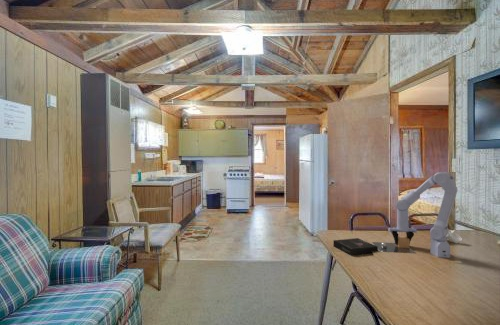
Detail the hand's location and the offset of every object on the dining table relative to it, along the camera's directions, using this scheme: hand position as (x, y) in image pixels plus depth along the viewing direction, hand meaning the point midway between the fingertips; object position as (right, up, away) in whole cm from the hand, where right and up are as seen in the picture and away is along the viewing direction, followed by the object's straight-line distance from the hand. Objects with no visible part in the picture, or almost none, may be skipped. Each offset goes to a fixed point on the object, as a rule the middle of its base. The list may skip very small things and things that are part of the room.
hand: (402, 244), depth 165 cm
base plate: (-6, -2, -2) cm, 7 cm away
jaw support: (+33, -2, +12) cm, 35 cm away
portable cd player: (-28, -3, -3) cm, 28 cm away
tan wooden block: (0, -1, 0) cm, 1 cm away
